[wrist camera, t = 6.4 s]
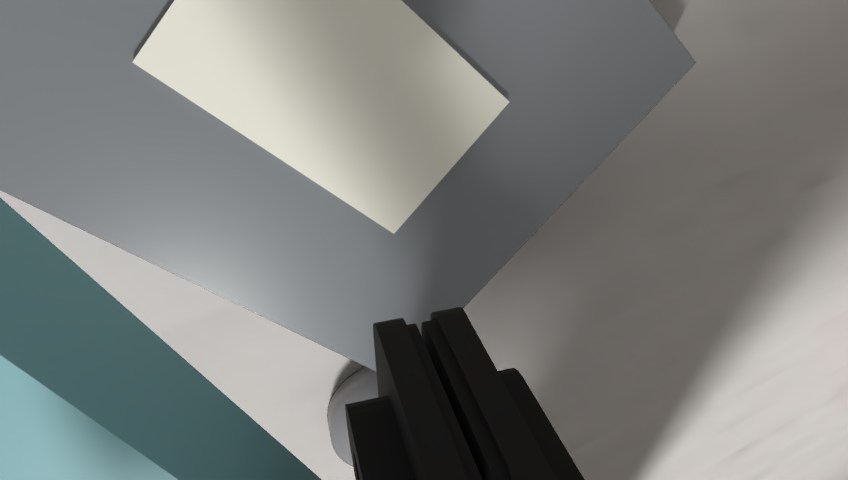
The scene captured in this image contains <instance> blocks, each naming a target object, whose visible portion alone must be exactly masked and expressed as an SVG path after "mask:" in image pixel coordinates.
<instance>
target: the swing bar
mask: <svg viewBox="0 0 848 480" xmlns="http://www.w3.org/2000/svg"><path fill="white" fill-rule="evenodd" d="M0 480H321V479H320V478H319V477H318V476H317V475H316V474H314V473H313V472H312V471H311V470H310V469H309V468H308V467H307V466H305V465H304V464H303V463H302V462H301V461H300V460H299V459H297V458H296V457H295V456H294V455H293V454H292V453H291V452H289V451H288V450H287V449H286V448H285V447H284V446H283V445H281V444H280V443H279V442H278V441H277V440H276V439H275V438H273V437H272V436H271V435H270V434H269V433H268V432H267V431H265V430H264V429H263V428H262V427H261V426H260V425H259V424H258V423H256V422H255V421H254V420H253V419H252V418H251V417H250V416H248V415H247V414H246V413H245V412H244V411H243V410H242V409H240V408H239V407H238V406H237V405H236V404H235V403H234V402H232V401H231V400H230V399H229V398H228V397H227V396H226V395H224V394H223V393H222V392H221V391H220V390H219V389H218V388H216V387H215V386H214V385H213V384H212V383H211V382H210V381H209V380H207V379H206V378H205V377H204V376H203V375H202V374H201V373H199V372H198V371H197V370H196V369H195V368H194V367H193V366H191V365H190V364H189V363H188V362H187V361H186V360H185V359H183V358H182V357H181V356H180V355H179V354H178V353H177V352H175V351H174V350H173V349H172V348H171V347H170V346H169V345H167V344H166V343H165V342H164V341H163V340H162V339H161V338H160V337H158V336H157V335H156V334H155V333H154V332H153V331H152V330H150V329H149V328H148V327H147V326H146V325H145V324H144V323H142V322H141V321H140V320H139V319H138V318H137V317H136V316H134V315H133V314H132V313H131V312H130V311H129V310H128V309H126V308H125V307H124V306H123V305H122V304H121V303H120V302H118V301H117V300H116V299H115V298H114V297H113V296H112V295H111V294H109V293H108V292H107V291H106V290H105V289H104V288H103V287H101V286H100V285H99V284H98V283H97V282H96V281H95V280H93V279H92V278H91V277H90V276H89V275H88V274H87V273H85V272H84V271H83V270H82V269H81V268H80V267H79V266H77V265H76V264H75V263H74V262H73V261H72V260H71V259H69V258H68V257H67V256H66V255H65V254H64V253H63V252H62V251H60V250H59V249H58V248H57V247H56V246H55V245H54V244H52V243H51V242H50V241H49V240H48V239H47V238H46V237H44V236H43V235H42V234H41V233H40V232H39V231H38V230H36V229H35V228H34V227H33V226H32V225H31V224H30V223H28V222H27V221H26V220H25V219H24V218H23V217H22V216H20V215H19V214H18V213H17V212H16V211H15V210H14V209H13V208H11V207H10V206H9V205H8V204H7V203H6V202H5V201H3V200H2V199H1V198H0Z"/></svg>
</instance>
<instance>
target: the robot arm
mask: <svg viewBox="0 0 848 480" xmlns="http://www.w3.org/2000/svg"><path fill="white" fill-rule="evenodd" d="M421 334H422V336H421ZM421 334H420V331H419V329H418V327H417V325H416V324H415V323H414V324H409V325H406V322H405V320H404V319H403V318H398V319H393V320H388V321H382V322H377V323H374V324H373V336H374V348H375V360H376V372H377V385H378V397H377V398H373V399H368V400H364V401H359V402H354V403H350V404H345V412H346V421H347V429H348V436H349V443H350V450H351V455H352V461H353V467H354V472H355V477H356V480H584V478H583V477H582V475H581V473H580V472H579V470H578V468H577V467H576V465H575V463H574V462H573V460H572V458H571V457H570V455H569V453H568V452H567V450H566V448H565V447H564V445H563V443H562V442H561V440H560V438H559V437H558V435H557V433H556V432H555V430H554V428H553V427H552V425H551V423H550V422H549V420H548V418H547V417H546V415H545V413H544V412H543V410H542V408H541V407H540V405H539V403H538V402H537V400H536V398H535V397H534V395H533V393H532V392H531V390H530V388H529V387H528V385H527V383H526V382H525V380H524V378H523V377H522V375H521V374H520V373H519V371H518V370H516V369H515V368H511V369H506V370H502V371H497V369H496V368H495V366H494V364H493V362H492V360H491V359H490V357H489V355H488V353H487V351H486V350H485V348H484V346H483V344H482V342H481V340H480V339H479V337H478V335H477V333H476V331H475V330H474V328H473V326H472V324H471V322H470V321H469V319H468V317H467V315H466V313H465V312H464V310H463V309H462V308H461V307H456V308H451V309H446V310H440V311H435V312H432V313H431V316H430V321H424V322H422V325H421Z"/></svg>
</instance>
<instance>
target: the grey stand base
mask: <svg viewBox="0 0 848 480" xmlns="http://www.w3.org/2000/svg"><path fill="white" fill-rule="evenodd" d="M695 63H696V62H695V60H694V59H693V58H692V56H691V55H690V54H689V52H688V51H687V50H686V48H685V47H684V46H683V44H682V43H681V42H680V40H679V39H678V38H677V36H676V35H675V34H674V32H673V31H672V30H671V28H670V27H669V26H668V24H667V23H666V22H665V20H664V19H663V18H662V16H661V15H660V14H659V12H658V11H657V10H656V8H655V7H654V6H653V4H652V3H651V2H650V0H0V190H1V191H3V192H5V193H7V194H9V195H11V196H13V197H16V198H18V199H20V200H22V201H24V202H26V203H28V204H30V205H32V206H34V207H36V208H38V209H40V210H42V211H44V212H47V213H49V214H51V215H53V216H55V217H57V218H59V219H61V220H63V221H65V222H67V223H69V224H71V225H73V226H76V227H78V228H80V229H82V230H84V231H86V232H88V233H90V234H92V235H94V236H96V237H98V238H100V239H102V240H105V241H107V242H109V243H111V244H113V245H115V246H117V247H119V248H121V249H123V250H125V251H127V252H129V253H131V254H134V255H136V256H138V257H140V258H142V259H144V260H146V261H148V262H150V263H152V264H154V265H156V266H158V267H160V268H163V269H165V270H167V271H169V272H171V273H173V274H175V275H177V276H179V277H181V278H183V279H185V280H187V281H189V282H192V283H194V284H196V285H198V286H200V287H202V288H204V289H206V290H208V291H210V292H212V293H214V294H216V295H218V296H221V297H223V298H225V299H227V300H229V301H231V302H233V303H235V304H237V305H239V306H241V307H243V308H245V309H247V310H250V311H252V312H254V313H256V314H258V315H260V316H262V317H264V318H266V319H268V320H270V321H272V322H274V323H276V324H279V325H281V326H283V327H285V328H287V329H289V330H291V331H293V332H295V333H297V334H299V335H301V336H303V337H305V338H308V339H310V340H312V341H314V342H316V343H318V344H320V345H322V346H324V347H326V348H328V349H330V350H332V351H334V352H337V353H339V354H341V355H343V356H345V357H347V358H349V359H351V360H353V361H355V362H357V363H359V364H361V365H363V366H366V367H364V368H362V369H360V370H358V371H357V372H355V373H354V374H352V375H351V376H350V377H349V378H347V379H346V380H345V381H344V382H343V383H342V384H341V385H340V387H339V388H338V389H337V390H336V392H335V393H334V395H333V397H332V399H331V401H330V403H329V407H328V413H327V418H328V426H329V431H330V437H331V442H332V445H333V448H334V450H335V452H336V454H337V455H338V456H339V457H340V458H341V459H342V460H343V461H344V462H346V463H347V464H349V465H351V466H353V461H352V455H351V450H350V443H349V436H348V429H347V421H346V412H345V404H350V403H354V402H359V401H364V400H368V399H373V398H377V397H378V385H377V372H376V360H375V348H374V336H373V324H374V323H377V322H382V321H388V320H393V319H398V318H403V319H404V320H405V322H406V325H409V324H414V323H415V324H416V325H417V327H418V329H419V331H420V334H421V325H422V322H424V321H430V316H431V313H432V312H435V311H440V310H446V309H451V308H456V307H461V308H462V309H463V308H464V307H465V306H466V305H467V304H468V303H469V302H470V301H471V299H472V298H473V297H474V296H475V295H476V294H477V293H478V292H479V291H480V290H481V289H482V288H483V287H484V286H485V285H486V284H487V283H488V282H489V280H490V279H491V278H492V277H493V276H494V275H495V274H496V273H497V272H498V271H499V270H500V269H501V268H502V267H503V266H504V265H505V264H506V263H507V261H508V260H509V259H510V258H511V257H512V256H513V255H514V254H515V253H516V252H517V251H518V250H519V249H520V248H521V247H522V246H523V245H524V244H525V242H526V241H527V240H528V239H529V238H530V237H531V236H532V235H533V234H534V233H535V232H536V231H537V230H538V229H539V228H540V227H541V226H542V224H543V223H544V222H545V221H546V220H547V219H548V218H549V217H550V216H551V215H552V214H553V213H554V212H555V211H556V210H557V209H558V208H559V207H560V205H561V204H562V203H563V202H564V201H565V200H566V199H567V198H568V197H569V196H570V195H571V194H572V193H573V192H574V191H575V190H576V189H577V188H578V186H579V185H580V184H581V183H582V182H583V181H584V180H585V179H586V178H587V177H588V176H589V175H590V174H591V173H592V172H593V171H594V170H595V169H596V167H597V166H598V165H599V164H600V163H601V162H602V161H603V160H604V159H605V158H606V157H607V156H608V155H609V154H610V153H611V152H612V151H613V150H614V148H615V147H616V146H617V145H618V144H619V143H620V142H621V141H622V140H623V139H624V138H625V137H626V136H627V135H628V134H629V133H630V132H631V131H632V129H633V128H634V127H635V126H636V125H637V124H638V123H639V122H640V121H641V120H642V119H643V118H644V117H645V116H646V115H647V114H648V113H649V112H650V110H651V109H652V108H653V107H654V106H655V105H656V104H657V103H658V102H659V101H660V100H661V99H662V98H663V97H664V96H665V95H666V94H667V93H668V91H669V90H670V89H671V88H672V87H673V86H674V85H675V84H676V83H677V82H678V81H679V80H680V79H681V78H682V77H683V76H684V75H685V74H686V72H687V71H688V70H689V69H690V68H691V67H692V66H693V65H694V64H695ZM421 336H422V334H421Z"/></svg>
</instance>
